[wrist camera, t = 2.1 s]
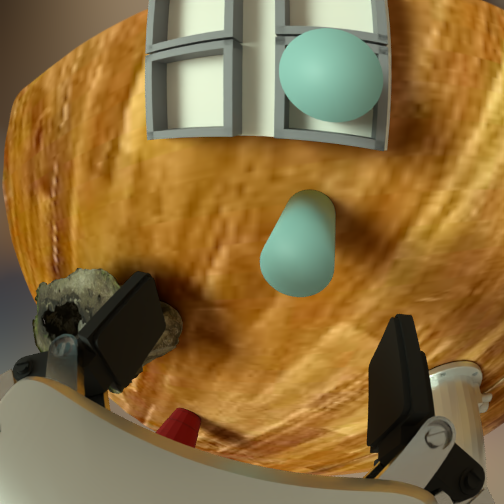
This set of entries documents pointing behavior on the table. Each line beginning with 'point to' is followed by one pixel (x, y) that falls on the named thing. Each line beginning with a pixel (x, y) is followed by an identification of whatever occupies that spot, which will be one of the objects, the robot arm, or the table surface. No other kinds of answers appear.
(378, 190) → the table surface
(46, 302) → the hollow geode rock
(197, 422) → the plastic cup
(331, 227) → the teal peg
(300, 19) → the pin board
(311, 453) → the table surface
